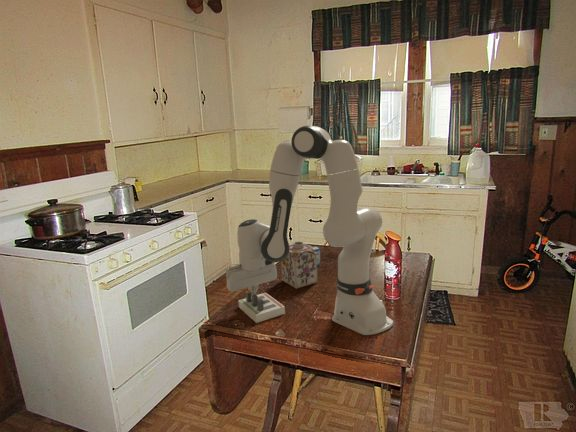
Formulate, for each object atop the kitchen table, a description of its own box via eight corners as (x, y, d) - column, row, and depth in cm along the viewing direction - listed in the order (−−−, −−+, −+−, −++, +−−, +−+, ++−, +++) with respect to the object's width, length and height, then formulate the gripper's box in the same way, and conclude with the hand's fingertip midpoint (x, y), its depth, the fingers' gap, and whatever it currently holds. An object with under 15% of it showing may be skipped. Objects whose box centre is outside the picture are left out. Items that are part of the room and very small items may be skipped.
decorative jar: (303, 274, 193) (301, 237, 189) (318, 282, 184) (317, 243, 179) (281, 280, 187) (279, 242, 183) (295, 289, 178) (294, 249, 173)
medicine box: (306, 268, 200) (305, 251, 198) (301, 265, 204) (301, 248, 202) (320, 265, 204) (320, 248, 201) (315, 262, 207) (315, 245, 205)
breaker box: (284, 313, 157) (284, 297, 155) (256, 323, 151) (255, 305, 150) (266, 299, 170) (265, 283, 168) (239, 307, 164) (237, 291, 162)
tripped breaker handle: (251, 300, 162) (251, 290, 161) (247, 301, 161) (247, 292, 160) (249, 299, 163) (249, 289, 162) (246, 300, 162) (245, 290, 161)
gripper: (228, 270, 152) (232, 305, 155) (278, 258, 162) (280, 291, 165) (222, 265, 157) (225, 299, 160) (270, 254, 167) (272, 286, 170)
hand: (253, 295), depth 163 cm, fingers closed
